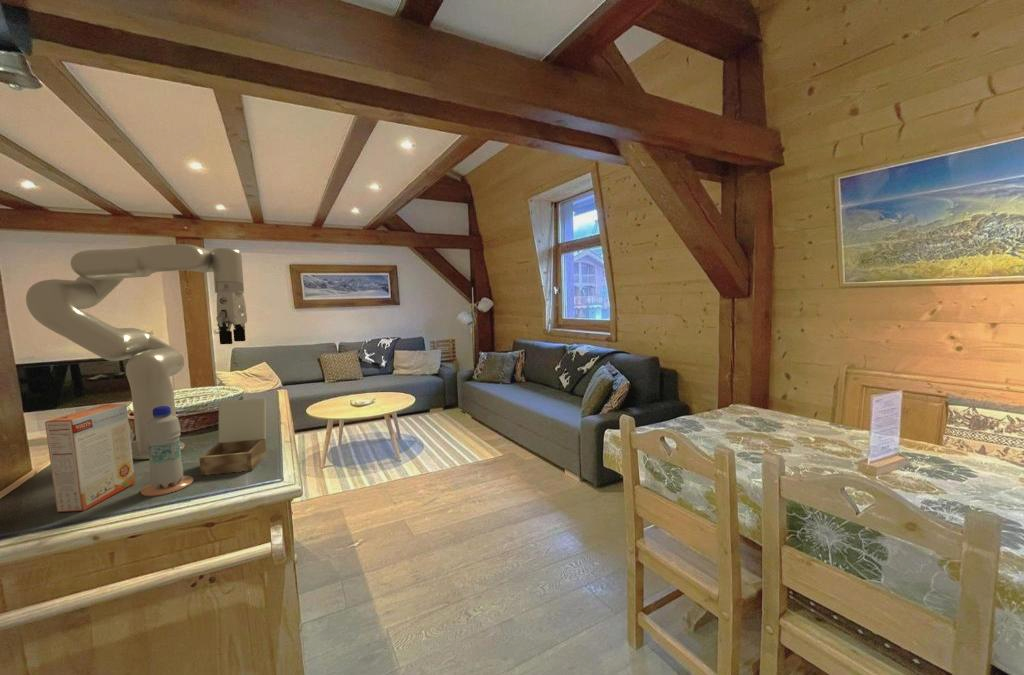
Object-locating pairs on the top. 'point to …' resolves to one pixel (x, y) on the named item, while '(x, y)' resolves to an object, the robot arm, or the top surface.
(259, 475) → the top surface
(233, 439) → the lid
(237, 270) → the robot arm
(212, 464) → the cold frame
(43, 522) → the top surface
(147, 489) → the saucer
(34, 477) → the top surface
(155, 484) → the bottle
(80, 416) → the cracker box
